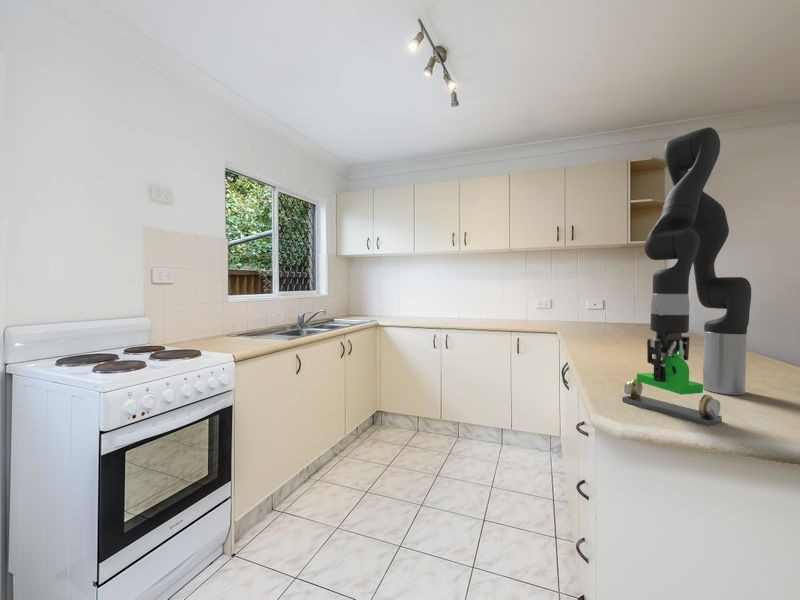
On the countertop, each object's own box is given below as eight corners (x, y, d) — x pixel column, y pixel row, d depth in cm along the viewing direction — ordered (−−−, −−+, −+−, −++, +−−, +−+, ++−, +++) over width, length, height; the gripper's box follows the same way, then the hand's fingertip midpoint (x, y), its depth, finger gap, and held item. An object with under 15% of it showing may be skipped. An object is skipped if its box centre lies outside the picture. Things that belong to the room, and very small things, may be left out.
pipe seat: (634, 398, 98) (635, 376, 98) (721, 421, 81) (722, 395, 81) (622, 401, 95) (622, 379, 95) (709, 426, 78) (709, 398, 78)
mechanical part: (702, 392, 83) (703, 358, 82) (681, 394, 81) (682, 359, 81) (655, 379, 94) (656, 349, 94) (636, 381, 93) (637, 350, 93)
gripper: (668, 310, 94) (667, 373, 94) (635, 312, 87) (634, 379, 88) (703, 312, 87) (701, 379, 88) (670, 314, 81) (668, 387, 81)
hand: (667, 379), depth 88 cm, fingers closed on mechanical part, 7 cm apart
